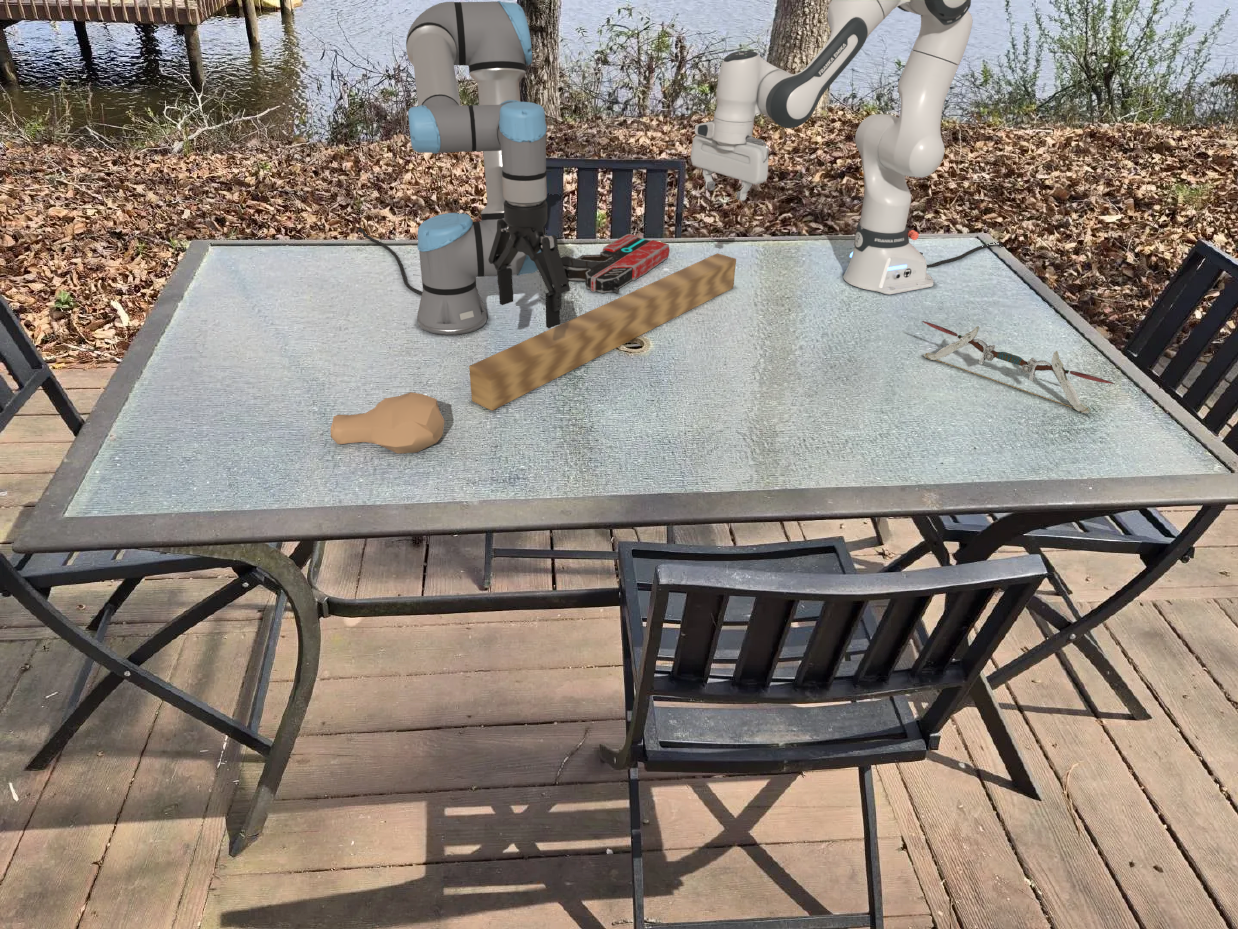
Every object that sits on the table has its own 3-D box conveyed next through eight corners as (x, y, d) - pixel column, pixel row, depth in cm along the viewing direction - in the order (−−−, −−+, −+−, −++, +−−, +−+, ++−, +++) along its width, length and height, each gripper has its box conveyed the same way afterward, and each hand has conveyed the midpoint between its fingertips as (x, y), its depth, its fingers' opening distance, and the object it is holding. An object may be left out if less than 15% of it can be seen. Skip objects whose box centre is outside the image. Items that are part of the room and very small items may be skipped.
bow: (1102, 416, 168) (1120, 369, 163) (1099, 419, 167) (1116, 372, 162) (916, 351, 190) (927, 308, 184) (912, 354, 189) (923, 311, 183)
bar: (491, 411, 165) (489, 375, 160) (471, 401, 168) (468, 365, 163) (733, 288, 218) (736, 258, 213) (714, 282, 220) (717, 253, 216)
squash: (445, 460, 150) (431, 421, 144) (332, 469, 152) (314, 430, 146) (454, 419, 158) (441, 380, 152) (346, 428, 160) (330, 389, 154)
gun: (545, 262, 216) (612, 281, 208) (611, 226, 238) (673, 242, 230) (545, 280, 218) (612, 299, 211) (610, 242, 240) (672, 258, 233)
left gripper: (590, 213, 146) (589, 329, 158) (498, 179, 161) (503, 288, 172) (556, 222, 142) (557, 342, 153) (464, 187, 156) (472, 298, 168)
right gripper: (778, 139, 190) (769, 203, 197) (707, 121, 202) (701, 181, 209) (760, 143, 186) (751, 208, 193) (689, 124, 198) (683, 186, 205)
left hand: (529, 314), depth 163 cm, fingers open, 13 cm apart
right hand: (725, 194), depth 201 cm, fingers open, 8 cm apart
